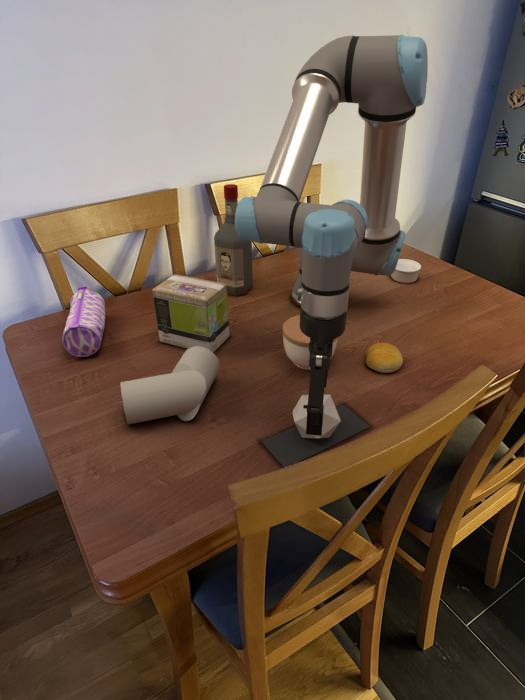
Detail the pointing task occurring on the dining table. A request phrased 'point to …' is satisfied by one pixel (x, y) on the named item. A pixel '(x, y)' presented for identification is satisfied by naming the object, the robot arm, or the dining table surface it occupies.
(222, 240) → the liquor
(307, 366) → the cork-lidded white jar
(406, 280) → the ramekin
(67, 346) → the pencil case
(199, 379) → the bent grey cylinder
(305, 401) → the die
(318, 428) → the robot arm
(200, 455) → the dining table surface
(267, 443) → the edge mat
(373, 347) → the bread roll
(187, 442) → the dining table surface
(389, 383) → the dining table surface
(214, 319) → the tea box
